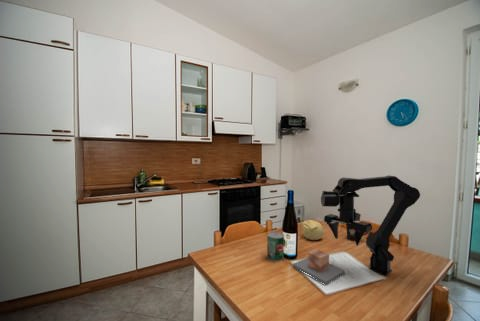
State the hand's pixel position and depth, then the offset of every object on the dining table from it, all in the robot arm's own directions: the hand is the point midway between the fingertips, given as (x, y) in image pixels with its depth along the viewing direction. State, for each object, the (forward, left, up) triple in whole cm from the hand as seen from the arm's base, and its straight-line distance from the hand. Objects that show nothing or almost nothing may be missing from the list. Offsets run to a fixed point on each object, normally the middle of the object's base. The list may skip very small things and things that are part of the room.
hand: (346, 241), depth 93 cm
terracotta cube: (+6, +12, -10) cm, 17 cm away
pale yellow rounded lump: (+30, -17, -12) cm, 36 cm away
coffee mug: (+14, -36, -12) cm, 40 cm away
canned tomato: (+25, +19, -12) cm, 33 cm away
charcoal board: (+6, +12, -12) cm, 18 cm away
